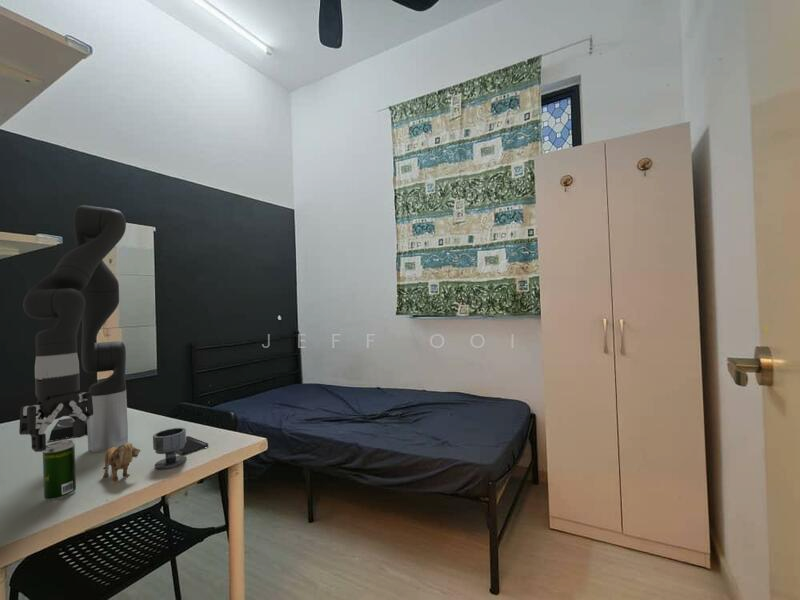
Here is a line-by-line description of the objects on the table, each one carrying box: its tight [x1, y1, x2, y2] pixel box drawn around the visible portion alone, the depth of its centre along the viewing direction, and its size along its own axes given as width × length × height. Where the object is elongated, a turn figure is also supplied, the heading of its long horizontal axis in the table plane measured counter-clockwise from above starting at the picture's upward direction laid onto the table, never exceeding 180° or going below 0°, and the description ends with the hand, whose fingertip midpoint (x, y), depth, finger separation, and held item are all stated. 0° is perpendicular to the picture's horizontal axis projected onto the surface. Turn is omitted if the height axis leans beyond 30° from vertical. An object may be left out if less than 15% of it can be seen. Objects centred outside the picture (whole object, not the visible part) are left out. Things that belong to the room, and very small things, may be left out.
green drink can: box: [42, 439, 77, 502], centre depth 83 cm, size 5×5×12 cm
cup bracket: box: [152, 427, 187, 471], centre depth 99 cm, size 7×7×8 cm
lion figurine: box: [102, 442, 141, 484], centre depth 93 cm, size 15×5×9 cm, turn 62°
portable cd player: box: [48, 416, 90, 441], centre depth 134 cm, size 16×17×4 cm
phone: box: [176, 435, 209, 456], centre depth 111 cm, size 8×1×15 cm
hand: (60, 443), depth 83 cm, fingers open, 8 cm apart
